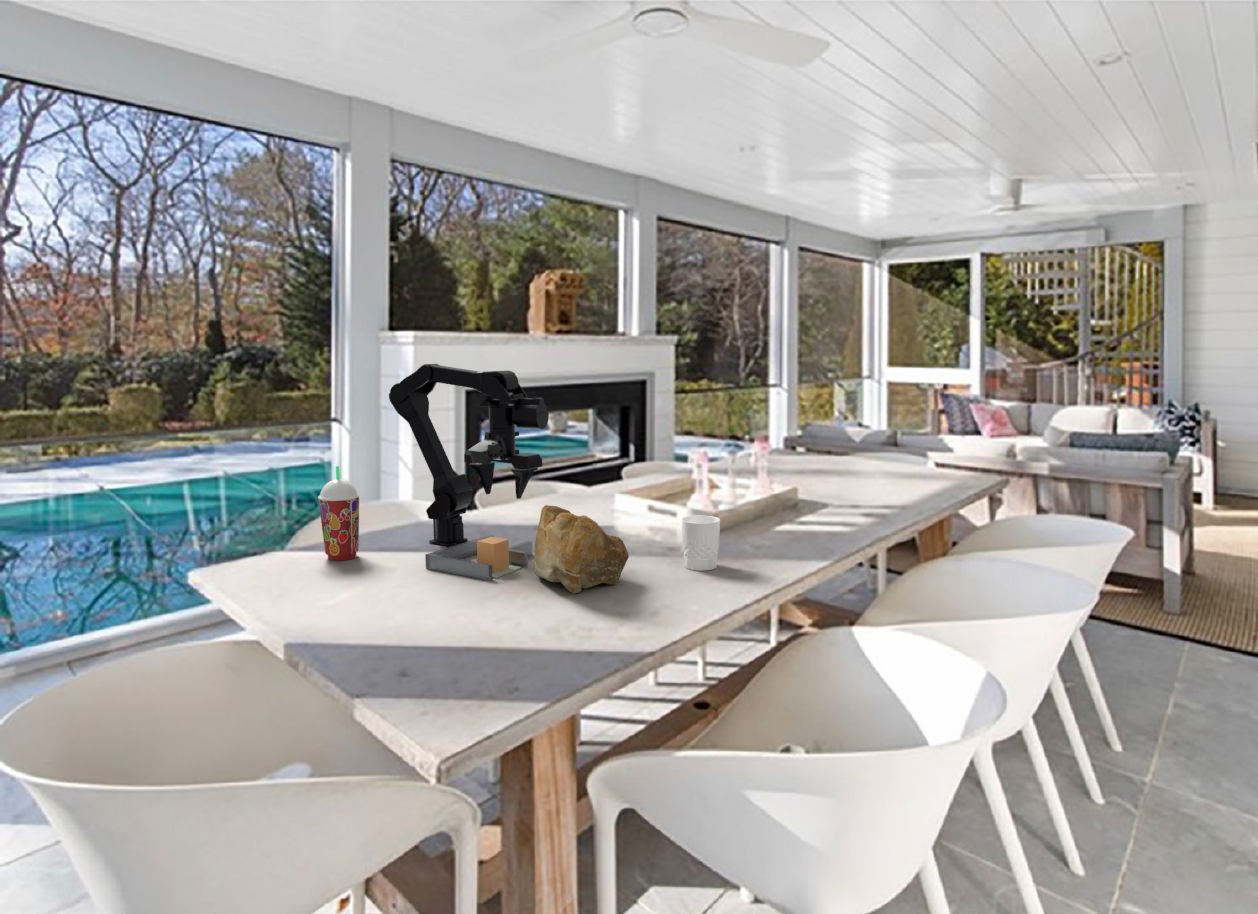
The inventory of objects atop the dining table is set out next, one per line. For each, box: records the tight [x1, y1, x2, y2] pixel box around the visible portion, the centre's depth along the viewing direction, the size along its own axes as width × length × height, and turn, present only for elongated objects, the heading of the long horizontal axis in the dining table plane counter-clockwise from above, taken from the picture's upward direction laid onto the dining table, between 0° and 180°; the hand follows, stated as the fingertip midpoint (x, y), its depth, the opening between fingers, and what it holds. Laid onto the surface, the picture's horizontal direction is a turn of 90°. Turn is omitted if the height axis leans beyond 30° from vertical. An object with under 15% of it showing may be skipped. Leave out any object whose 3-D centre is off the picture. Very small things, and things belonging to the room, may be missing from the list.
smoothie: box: [317, 465, 361, 562], centre depth 171 cm, size 8×8×20 cm
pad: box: [492, 565, 523, 579], centre depth 162 cm, size 8×8×1 cm
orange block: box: [476, 536, 510, 573], centre depth 161 cm, size 4×4×6 cm
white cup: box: [681, 514, 721, 572], centre depth 163 cm, size 8×8×10 cm
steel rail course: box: [424, 534, 533, 582], centre depth 167 cm, size 17×20×3 cm
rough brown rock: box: [534, 504, 630, 595], centre depth 152 cm, size 23×17×15 cm
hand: (503, 496), depth 178 cm, fingers open, 9 cm apart
